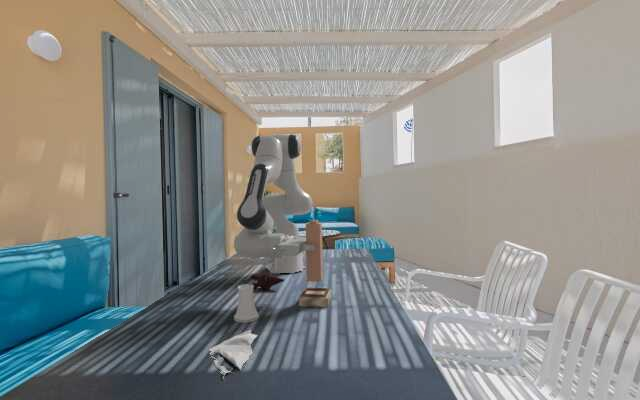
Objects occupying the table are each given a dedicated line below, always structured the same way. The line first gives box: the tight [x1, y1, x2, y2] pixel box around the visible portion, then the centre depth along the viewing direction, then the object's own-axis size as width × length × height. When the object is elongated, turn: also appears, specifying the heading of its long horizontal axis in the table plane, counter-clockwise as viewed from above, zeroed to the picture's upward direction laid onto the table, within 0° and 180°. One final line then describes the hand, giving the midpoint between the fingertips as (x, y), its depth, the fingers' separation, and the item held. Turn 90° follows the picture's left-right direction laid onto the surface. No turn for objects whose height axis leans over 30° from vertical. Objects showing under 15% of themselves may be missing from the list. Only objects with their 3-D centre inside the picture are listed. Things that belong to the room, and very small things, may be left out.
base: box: [298, 287, 332, 308], centre depth 121 cm, size 10×10×4 cm
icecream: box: [250, 271, 285, 290], centre depth 139 cm, size 7×7×15 cm
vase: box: [233, 283, 260, 323], centre depth 106 cm, size 8×8×10 cm
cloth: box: [208, 329, 259, 380], centre depth 84 cm, size 26×14×2 cm, turn 168°
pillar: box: [305, 219, 324, 283], centre depth 121 cm, size 5×5×21 cm
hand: (316, 245), depth 121 cm, fingers closed on pillar, 5 cm apart
